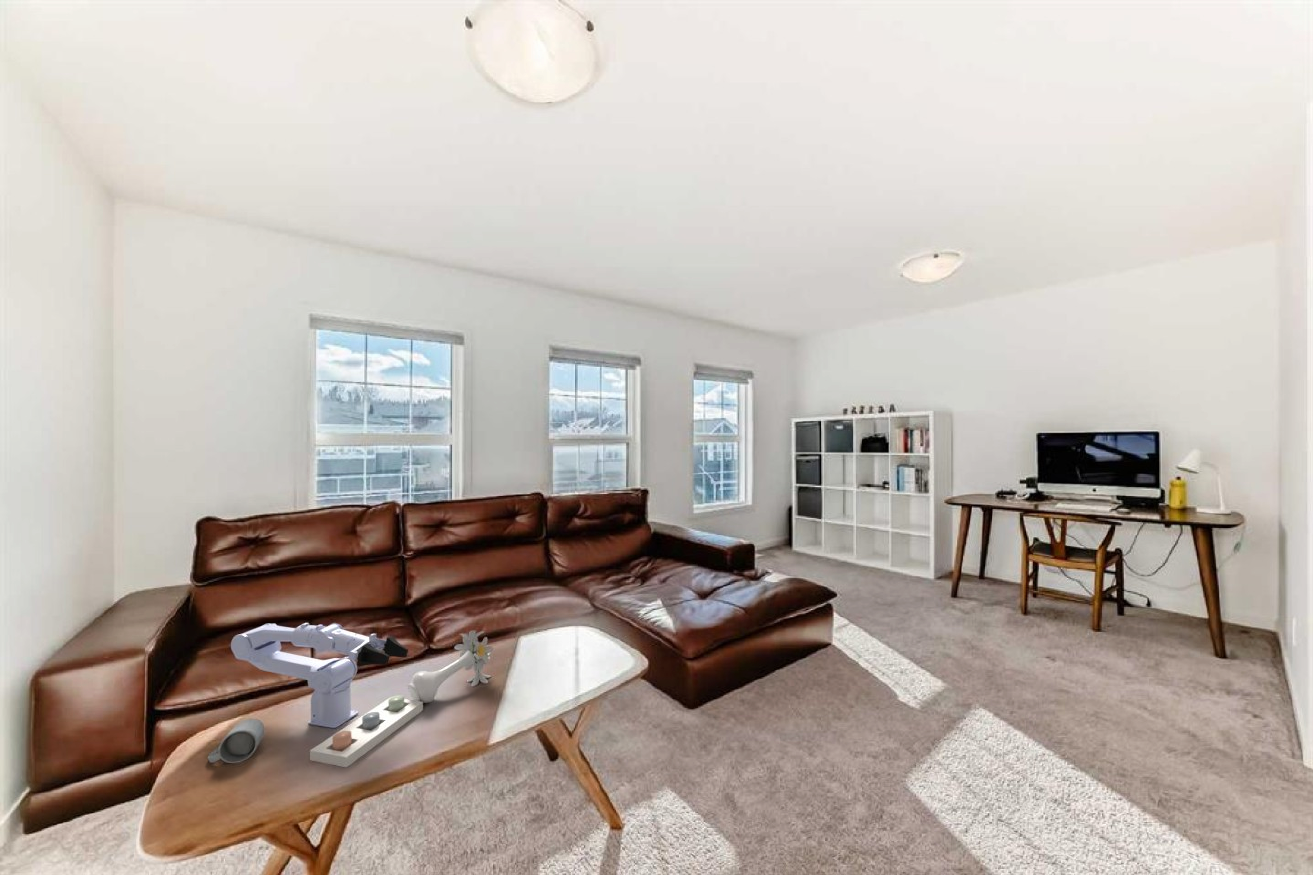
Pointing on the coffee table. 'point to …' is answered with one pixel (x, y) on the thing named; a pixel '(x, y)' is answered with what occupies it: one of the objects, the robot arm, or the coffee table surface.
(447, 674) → the flower vase
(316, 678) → the robot arm
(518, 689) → the coffee table surface
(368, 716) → the slate button
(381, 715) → the panel
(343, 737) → the terracotta button
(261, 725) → the ceramic mug
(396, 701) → the sage button
